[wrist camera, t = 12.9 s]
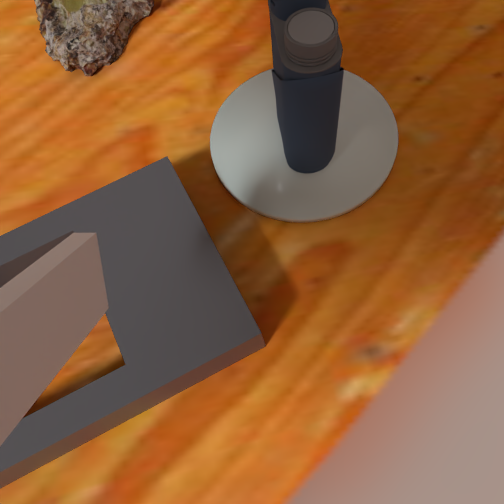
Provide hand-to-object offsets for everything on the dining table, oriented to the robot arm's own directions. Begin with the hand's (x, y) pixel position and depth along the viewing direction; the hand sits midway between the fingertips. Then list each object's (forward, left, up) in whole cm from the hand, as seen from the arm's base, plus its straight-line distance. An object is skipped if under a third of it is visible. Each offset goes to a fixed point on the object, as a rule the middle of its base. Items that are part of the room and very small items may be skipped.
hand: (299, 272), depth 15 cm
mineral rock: (-25, -1, -8) cm, 26 cm away
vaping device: (-9, +5, -7) cm, 13 cm away
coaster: (-9, +5, -8) cm, 13 cm away
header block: (-5, -11, -8) cm, 14 cm away
